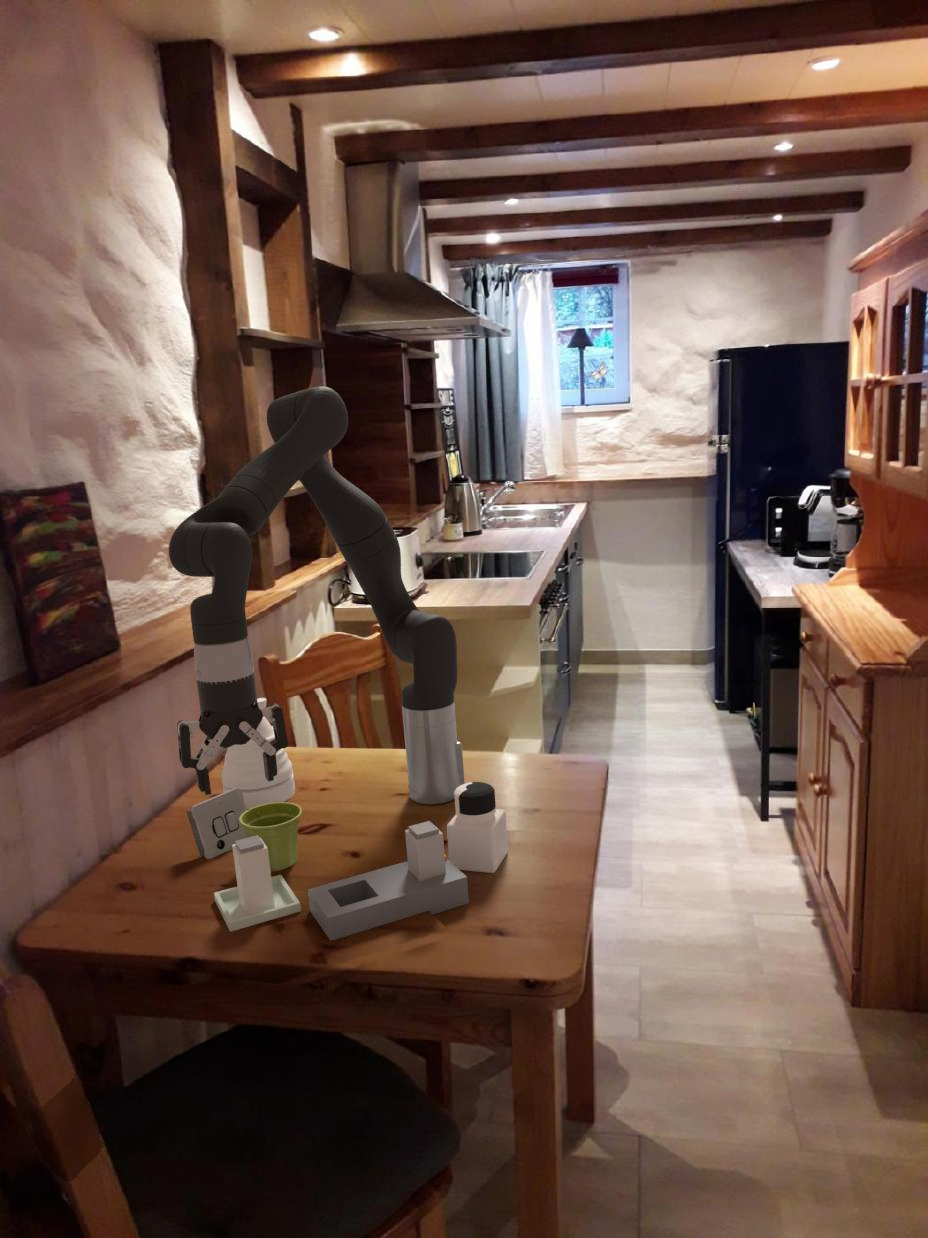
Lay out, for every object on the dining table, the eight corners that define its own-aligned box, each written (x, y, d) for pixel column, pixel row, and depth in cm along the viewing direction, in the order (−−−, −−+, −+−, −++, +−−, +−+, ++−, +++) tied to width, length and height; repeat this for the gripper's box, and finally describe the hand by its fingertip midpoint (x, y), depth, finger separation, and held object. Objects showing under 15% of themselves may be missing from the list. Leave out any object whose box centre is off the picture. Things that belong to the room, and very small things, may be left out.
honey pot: (281, 776, 183) (271, 687, 180) (305, 797, 172) (295, 703, 169) (216, 793, 177) (204, 701, 173) (236, 816, 166) (223, 718, 163)
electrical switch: (210, 865, 148) (199, 808, 147) (191, 860, 152) (180, 805, 150) (257, 842, 156) (247, 788, 154) (238, 837, 159) (228, 785, 157)
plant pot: (240, 861, 149) (234, 810, 147) (299, 847, 152) (293, 796, 150) (252, 886, 140) (245, 832, 138) (314, 871, 144) (308, 818, 142)
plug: (267, 895, 136) (259, 833, 134) (274, 907, 132) (267, 844, 130) (239, 903, 134) (231, 840, 132) (246, 916, 130) (238, 851, 128)
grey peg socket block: (441, 877, 139) (436, 809, 137) (468, 903, 131) (463, 832, 129) (310, 915, 131) (302, 845, 129) (331, 946, 123) (323, 871, 121)
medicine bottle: (508, 852, 146) (503, 779, 143) (494, 874, 139) (489, 798, 136) (464, 848, 148) (459, 776, 145) (449, 869, 141) (443, 794, 139)
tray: (282, 887, 140) (280, 874, 139) (301, 916, 131) (300, 903, 131) (215, 905, 135) (213, 892, 135) (230, 937, 127) (229, 923, 126)
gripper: (271, 657, 132) (282, 767, 136) (166, 674, 127) (181, 788, 130) (284, 669, 126) (296, 784, 129) (174, 687, 120) (190, 807, 123)
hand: (238, 786), depth 130 cm, fingers open, 8 cm apart
